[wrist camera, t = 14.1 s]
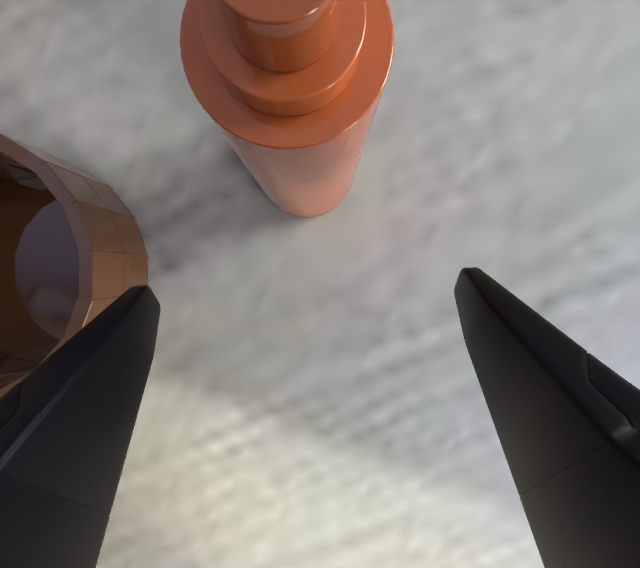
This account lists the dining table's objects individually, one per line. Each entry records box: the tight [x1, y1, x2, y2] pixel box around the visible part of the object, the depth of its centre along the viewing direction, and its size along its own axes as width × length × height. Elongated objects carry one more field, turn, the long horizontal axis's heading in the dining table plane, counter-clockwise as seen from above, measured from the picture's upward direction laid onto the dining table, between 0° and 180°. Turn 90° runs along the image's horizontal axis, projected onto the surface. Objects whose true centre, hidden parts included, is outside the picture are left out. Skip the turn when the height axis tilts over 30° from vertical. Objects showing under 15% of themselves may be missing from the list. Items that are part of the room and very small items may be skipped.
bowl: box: [0, 134, 148, 398], centre depth 15 cm, size 11×11×4 cm
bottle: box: [180, 0, 394, 217], centre depth 11 cm, size 5×5×12 cm
